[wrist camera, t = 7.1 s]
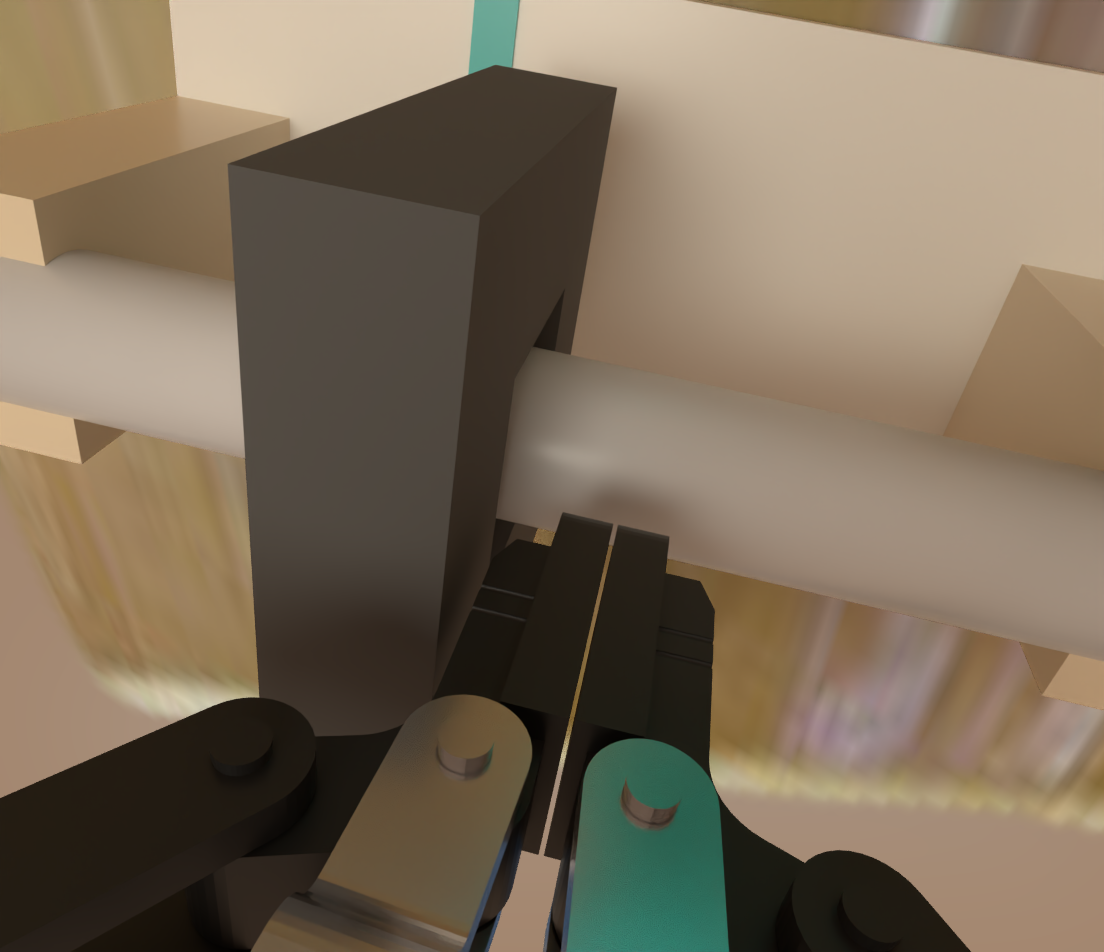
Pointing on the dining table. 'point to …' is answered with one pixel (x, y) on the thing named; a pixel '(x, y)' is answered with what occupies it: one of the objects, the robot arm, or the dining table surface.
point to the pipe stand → (660, 290)
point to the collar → (398, 369)
